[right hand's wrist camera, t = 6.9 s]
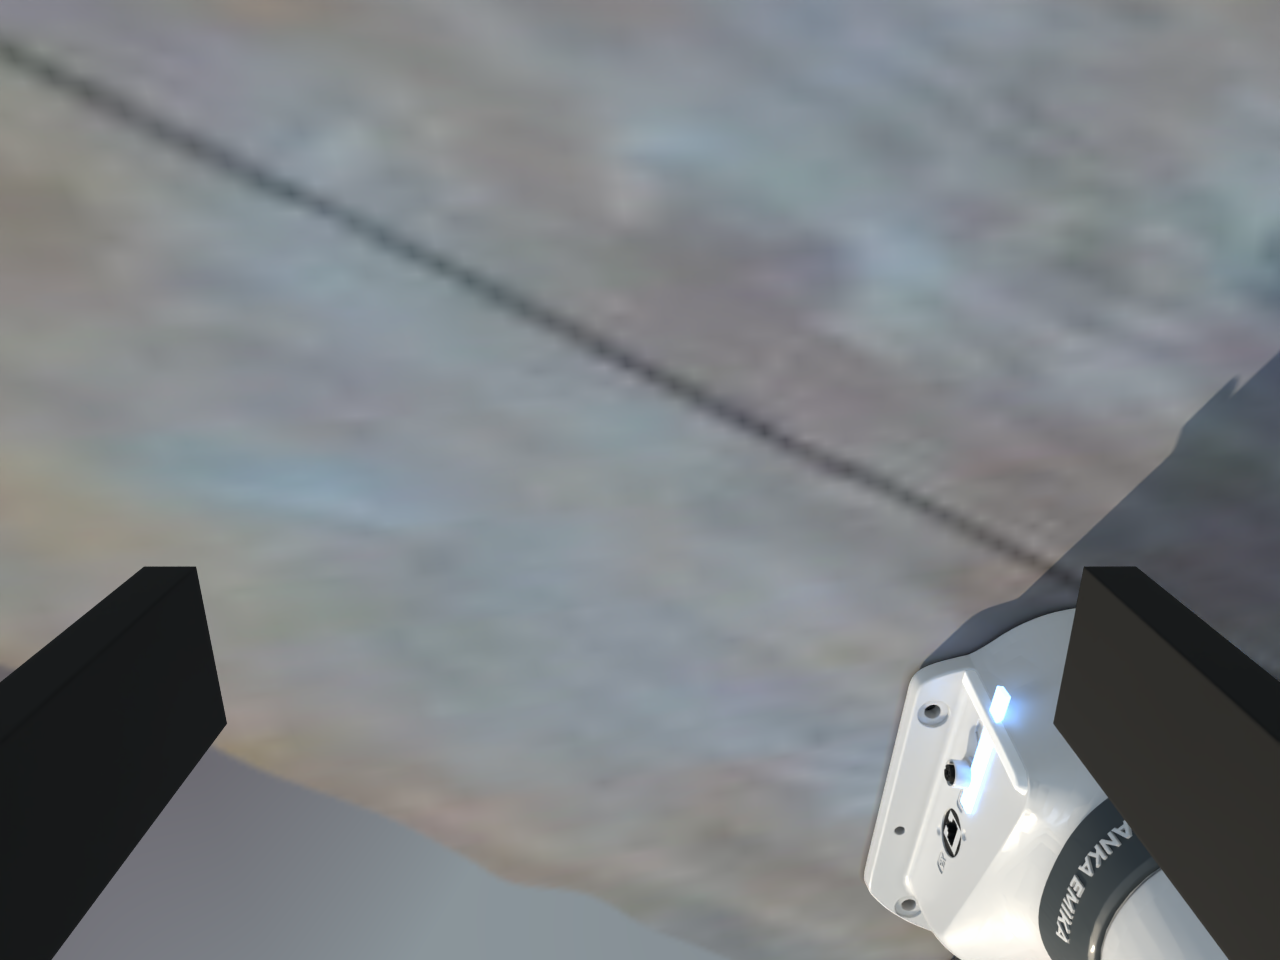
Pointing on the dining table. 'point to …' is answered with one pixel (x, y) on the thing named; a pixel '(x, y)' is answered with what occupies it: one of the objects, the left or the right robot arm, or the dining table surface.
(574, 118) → the dining table surface
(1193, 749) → the right robot arm
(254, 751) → the dining table surface
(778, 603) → the dining table surface
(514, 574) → the dining table surface
